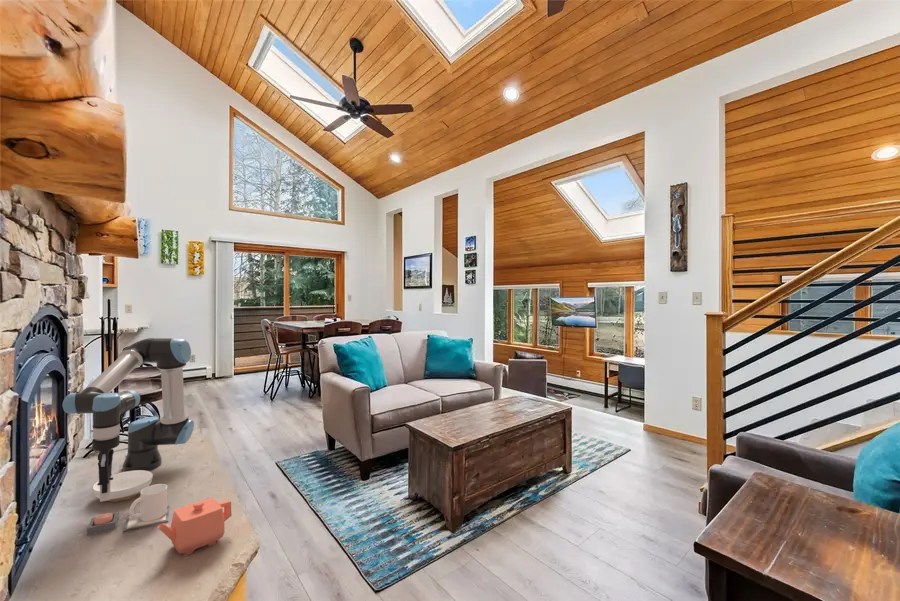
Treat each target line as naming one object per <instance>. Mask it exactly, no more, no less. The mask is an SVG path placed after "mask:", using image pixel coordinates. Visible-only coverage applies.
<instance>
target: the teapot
mask: <svg viewBox="0 0 900 601" xmlns="http://www.w3.org/2000/svg"><path fill="white" fill-rule="evenodd" d="M232 516H233V514H232V501H231V500H230V499H226V500H221V501H217V500H216V499H215V498H214V497H210V498H207V499H202V500H199V501H197V502H192V503H190V504H187V505H185V506H182V507H178V508H175V509H174V510H173V512H172V516H171V522H170V525H167V523H163V524H158V525H157V528H158V530H159V531H160V532H162V533H163V535H165V537H167V538H168V539H169V540H170V541H171V544H172V545H173V546H174V548H175V550H176V551H177V553H178V554H179V555H181V554H183V555H184V556H186V557H187V556H191V555H192V554H194V552H195V550H197V549H200V548H201V547H204V546H208V547H212V546H215V545H216V544H217V541H218V540H220V539H222V538H223V537H224V534H225V522H226V521H227V520H228V519H230V518H231V517H232Z"/></svg>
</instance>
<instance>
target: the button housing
mask: <svg viewBox="0 0 900 601" xmlns="http://www.w3.org/2000/svg"><path fill="white" fill-rule="evenodd" d="M112 514H113V521H112V522H109V523H104V524H100V525H95V526H94V519H95V518H96V517H97V516H94V517H92V518H90V521H89V524H88V526H87V530H86V536H87V537H88V536H91V535H96V534H101V533H103V532H108V531H113V530H116V528H117V524H118V522H119V517H120V516H119V512H118V511H117V512H113V513H112Z"/></svg>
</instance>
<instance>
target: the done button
mask: <svg viewBox="0 0 900 601" xmlns="http://www.w3.org/2000/svg"><path fill="white" fill-rule="evenodd" d="M95 517H96V518H95V519H94V526H95V525H100V524H104V523H109V522H112V521H113V513H112V512H105V513H102V514H101V513H100V514H99V515H97V516H95Z"/></svg>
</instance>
